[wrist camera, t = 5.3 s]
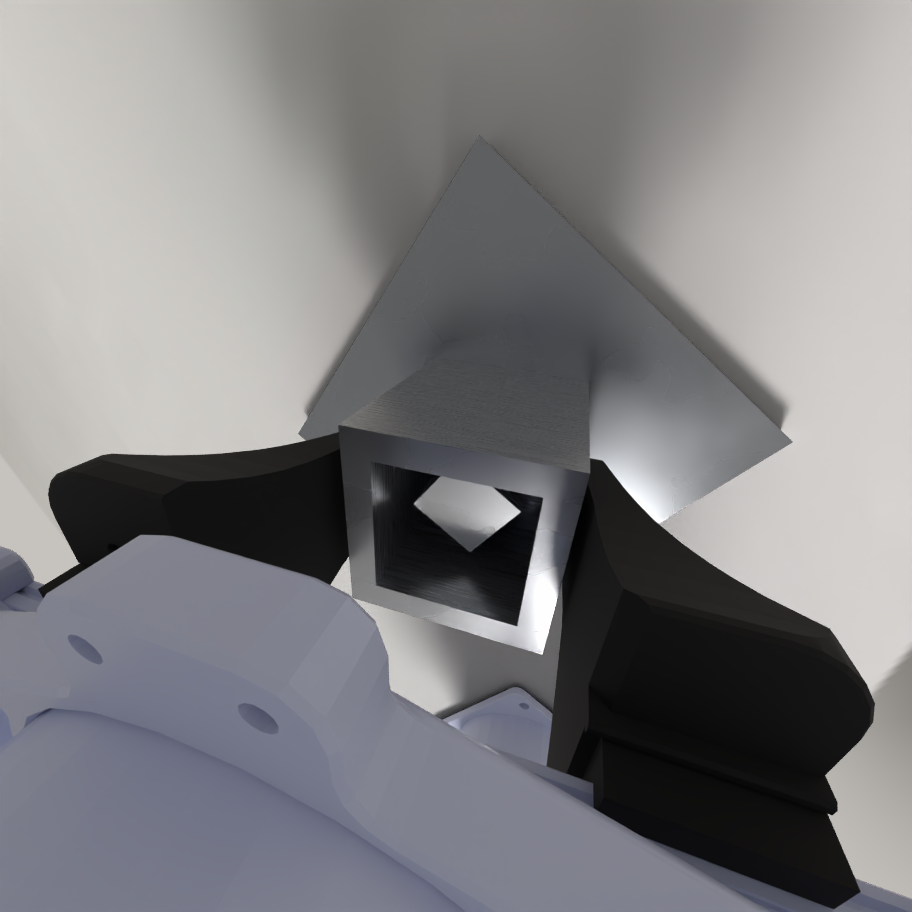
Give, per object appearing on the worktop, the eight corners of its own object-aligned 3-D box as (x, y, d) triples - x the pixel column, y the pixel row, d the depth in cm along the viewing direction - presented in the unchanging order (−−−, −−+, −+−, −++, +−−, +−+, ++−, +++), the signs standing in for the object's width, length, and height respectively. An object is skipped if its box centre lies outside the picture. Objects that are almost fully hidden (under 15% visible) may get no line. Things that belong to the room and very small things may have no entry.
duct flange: (781, 431, 12) (900, 540, 7) (513, 599, 18) (488, 715, 14) (486, 142, 11) (413, 62, 6) (309, 426, 17) (209, 488, 12)
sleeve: (588, 380, 12) (590, 473, 7) (558, 512, 14) (542, 655, 9) (434, 358, 13) (338, 424, 8) (429, 484, 16) (353, 597, 10)
